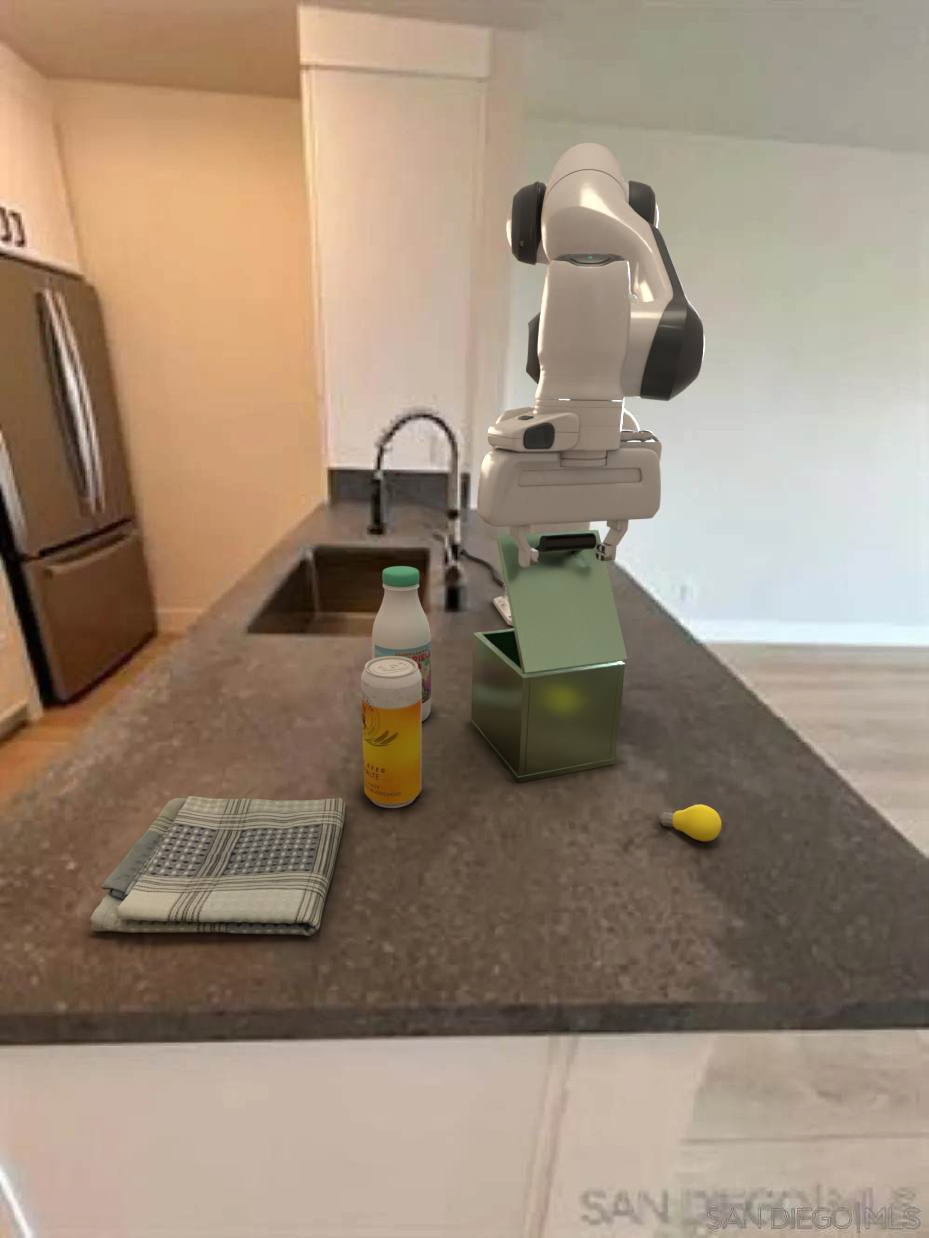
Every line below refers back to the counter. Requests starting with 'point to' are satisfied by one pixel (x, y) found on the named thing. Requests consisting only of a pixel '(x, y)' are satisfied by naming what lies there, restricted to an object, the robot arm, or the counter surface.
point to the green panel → (561, 602)
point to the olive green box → (543, 710)
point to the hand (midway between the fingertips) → (567, 562)
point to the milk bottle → (404, 626)
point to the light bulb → (694, 822)
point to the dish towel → (227, 868)
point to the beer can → (392, 730)
